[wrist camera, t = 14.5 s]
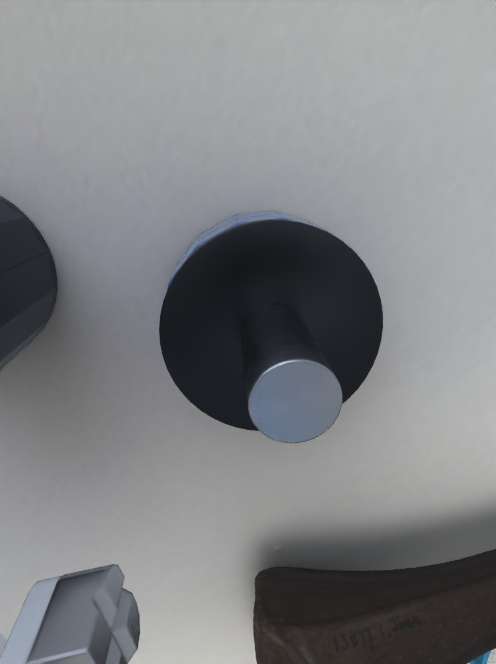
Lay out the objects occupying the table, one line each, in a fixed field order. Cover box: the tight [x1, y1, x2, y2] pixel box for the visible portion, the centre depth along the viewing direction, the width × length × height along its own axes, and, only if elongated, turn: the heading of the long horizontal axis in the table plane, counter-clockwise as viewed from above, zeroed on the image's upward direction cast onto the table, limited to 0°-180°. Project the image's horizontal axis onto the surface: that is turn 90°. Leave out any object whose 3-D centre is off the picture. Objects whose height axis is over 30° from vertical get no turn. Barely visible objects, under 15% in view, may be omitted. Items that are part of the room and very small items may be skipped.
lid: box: [159, 219, 383, 443], centre depth 17 cm, size 10×10×7 cm
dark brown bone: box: [253, 549, 496, 664], centre depth 27 cm, size 11×10×28 cm
